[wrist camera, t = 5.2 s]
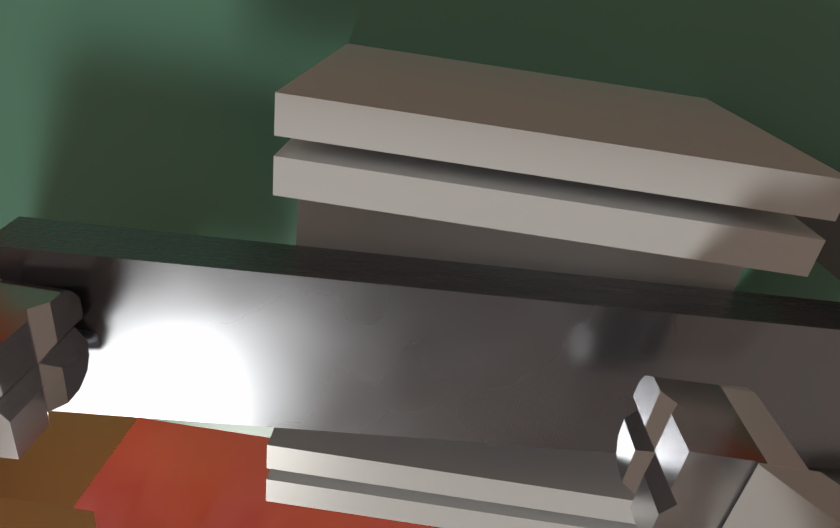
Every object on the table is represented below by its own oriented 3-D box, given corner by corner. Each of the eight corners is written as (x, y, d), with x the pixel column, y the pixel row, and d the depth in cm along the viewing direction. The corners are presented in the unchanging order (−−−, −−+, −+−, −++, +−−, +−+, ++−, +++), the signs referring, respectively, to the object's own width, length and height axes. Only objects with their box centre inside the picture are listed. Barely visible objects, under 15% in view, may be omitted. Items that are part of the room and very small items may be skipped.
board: (1203, -38, 12) (1966, -41, 6) (845, 497, 20) (1023, 746, 13) (-80, -237, 12) (-647, -444, 6) (42, 375, 20) (-156, 568, 13)
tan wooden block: (219, 326, 17) (60, 560, 10) (221, 432, 18) (89, 688, 12) (18, 295, 17) (-270, 510, 10) (41, 405, 18) (-191, 645, 12)
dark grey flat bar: (949, 313, 11) (999, 345, 10) (869, 436, 12) (906, 474, 11) (19, 216, 9) (-21, 244, 8) (48, 369, 11) (16, 408, 10)
